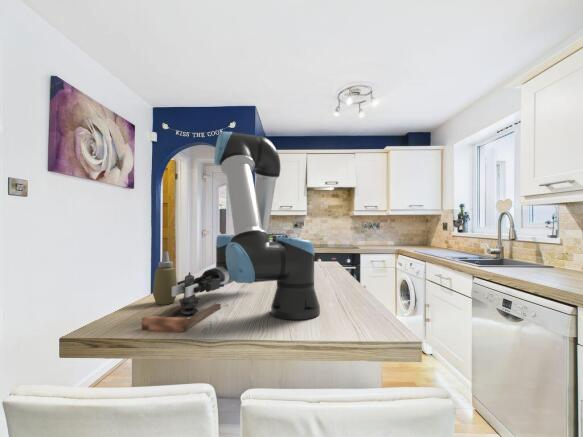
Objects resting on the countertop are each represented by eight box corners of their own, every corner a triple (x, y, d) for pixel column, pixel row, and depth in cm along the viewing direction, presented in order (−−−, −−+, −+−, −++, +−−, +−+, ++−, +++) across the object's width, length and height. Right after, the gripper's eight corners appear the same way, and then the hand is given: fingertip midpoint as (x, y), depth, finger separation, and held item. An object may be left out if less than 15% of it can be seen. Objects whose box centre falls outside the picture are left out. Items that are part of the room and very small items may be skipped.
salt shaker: (192, 314, 89) (193, 273, 89) (175, 313, 90) (175, 273, 91) (202, 309, 95) (203, 270, 95) (185, 308, 96) (186, 270, 96)
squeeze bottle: (171, 306, 102) (172, 252, 103) (148, 305, 102) (149, 252, 103) (181, 300, 110) (181, 250, 111) (158, 300, 110) (159, 250, 111)
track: (220, 308, 99) (220, 299, 99) (183, 332, 77) (183, 320, 77) (187, 306, 101) (187, 297, 102) (141, 329, 79) (141, 317, 79)
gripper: (236, 289, 109) (206, 306, 86) (193, 287, 112) (153, 303, 89) (236, 268, 109) (206, 280, 86) (193, 267, 112) (153, 278, 89)
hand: (179, 292), depth 87 cm, fingers closed on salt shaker, 4 cm apart
